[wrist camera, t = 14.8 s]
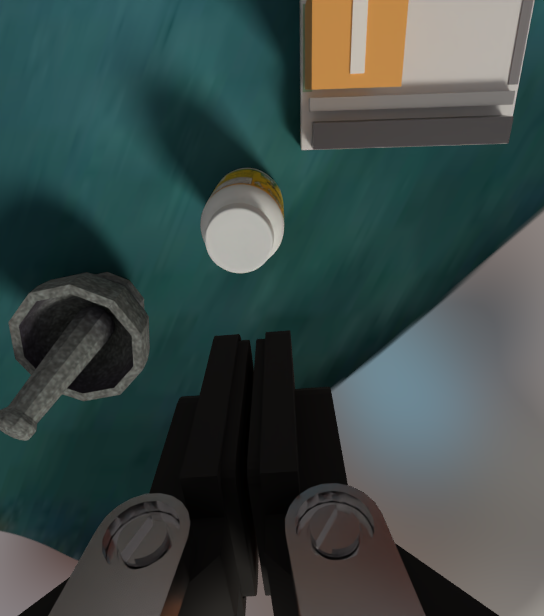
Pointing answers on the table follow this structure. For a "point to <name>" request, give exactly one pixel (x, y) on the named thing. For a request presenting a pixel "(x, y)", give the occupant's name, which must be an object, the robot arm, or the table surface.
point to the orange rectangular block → (354, 43)
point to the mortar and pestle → (75, 344)
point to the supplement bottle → (243, 220)
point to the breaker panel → (430, 82)
